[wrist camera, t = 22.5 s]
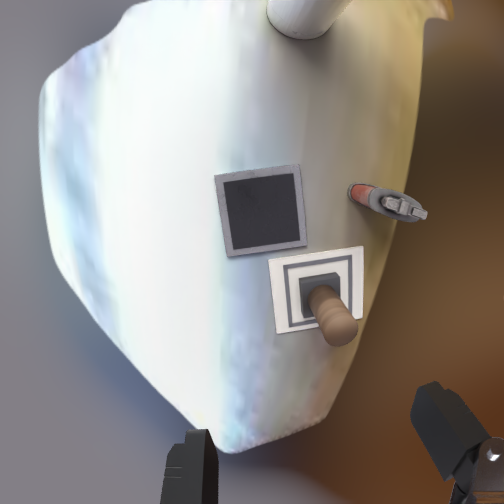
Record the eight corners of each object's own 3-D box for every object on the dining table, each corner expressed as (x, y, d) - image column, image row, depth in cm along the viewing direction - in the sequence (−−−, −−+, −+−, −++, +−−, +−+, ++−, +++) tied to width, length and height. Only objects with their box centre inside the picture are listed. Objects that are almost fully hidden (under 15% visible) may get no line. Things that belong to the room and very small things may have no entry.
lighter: (344, 201, 41) (375, 214, 31) (350, 177, 40) (383, 184, 30) (391, 215, 42) (428, 231, 32) (397, 193, 41) (436, 205, 31)
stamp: (298, 278, 43) (317, 315, 32) (335, 271, 43) (364, 306, 33) (301, 312, 45) (319, 355, 34) (336, 305, 45) (362, 345, 34)
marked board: (268, 259, 42) (268, 261, 42) (361, 245, 43) (363, 247, 42) (276, 331, 46) (277, 334, 45) (360, 316, 46) (362, 318, 46)
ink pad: (214, 175, 39) (214, 175, 37) (297, 164, 39) (300, 164, 37) (227, 254, 42) (227, 258, 41) (305, 243, 42) (308, 246, 41)
